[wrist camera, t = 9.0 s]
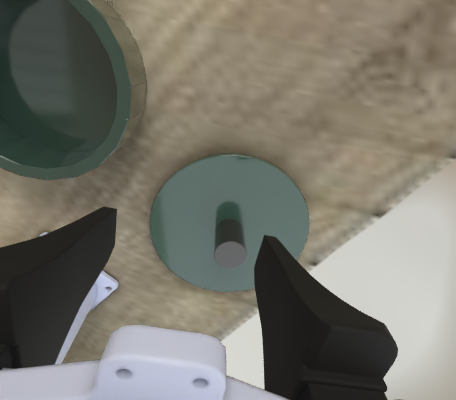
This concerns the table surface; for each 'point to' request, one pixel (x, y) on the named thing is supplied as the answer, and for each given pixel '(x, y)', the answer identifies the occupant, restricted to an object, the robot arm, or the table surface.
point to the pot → (66, 86)
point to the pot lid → (225, 219)
